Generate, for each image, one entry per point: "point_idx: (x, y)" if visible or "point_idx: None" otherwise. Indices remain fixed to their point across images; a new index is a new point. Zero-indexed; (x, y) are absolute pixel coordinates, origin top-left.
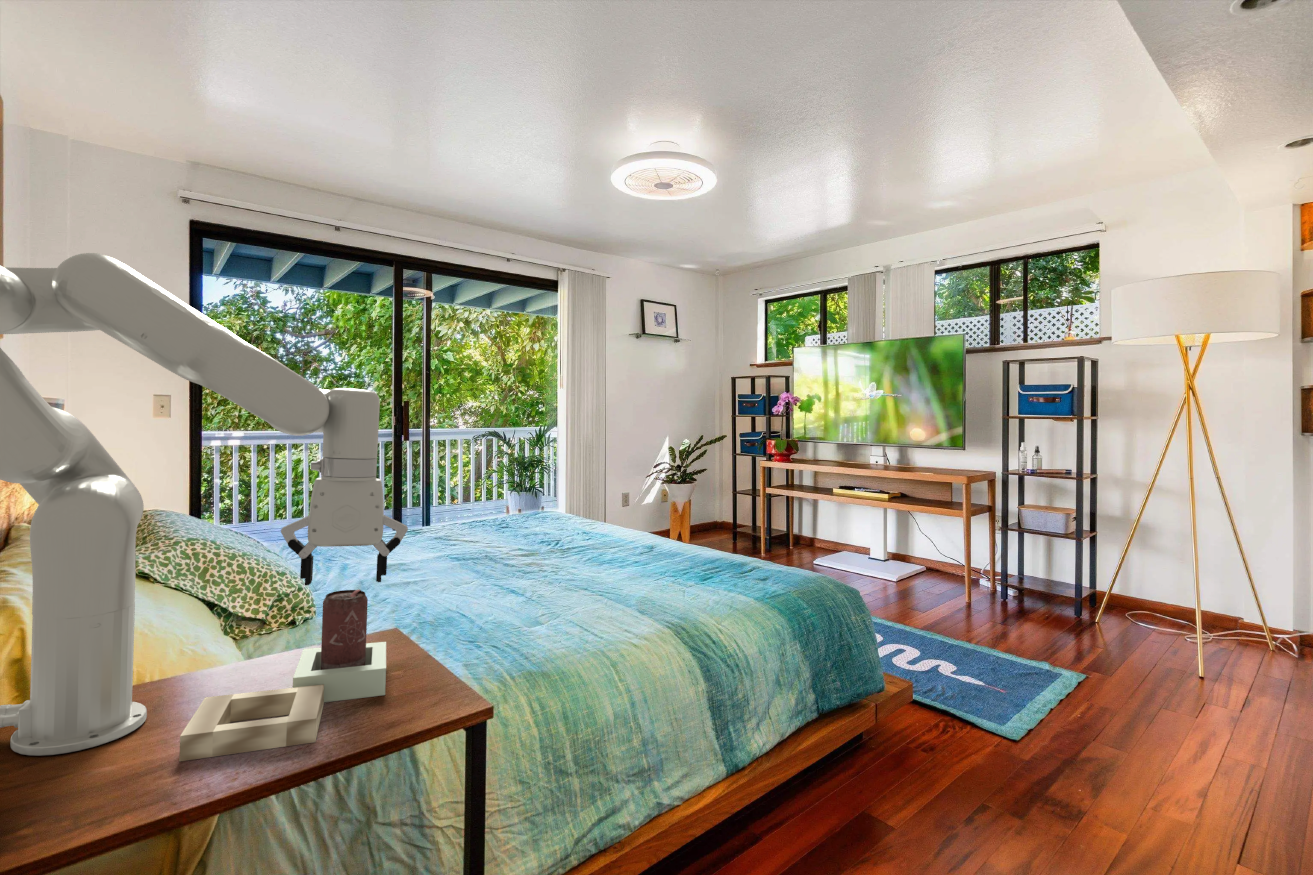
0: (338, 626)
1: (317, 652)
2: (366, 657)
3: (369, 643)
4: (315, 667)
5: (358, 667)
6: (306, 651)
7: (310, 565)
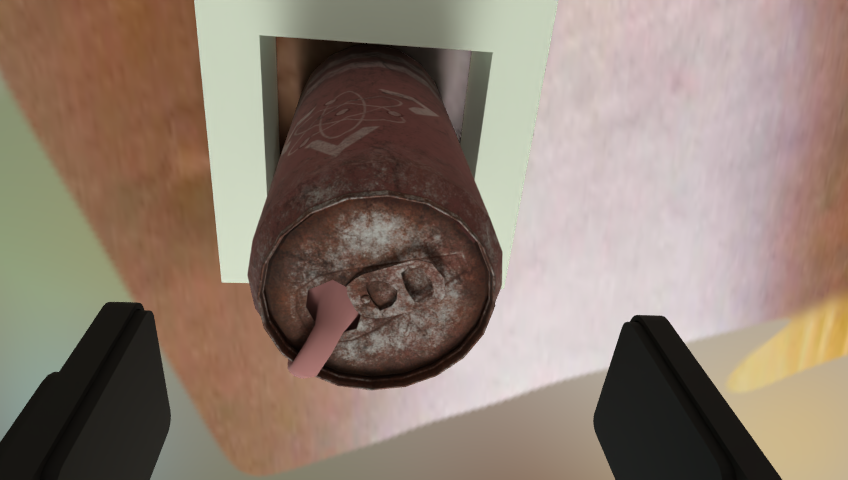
0: (407, 123)
1: None
2: None
3: None
4: None
5: (312, 22)
6: None
7: (700, 428)
